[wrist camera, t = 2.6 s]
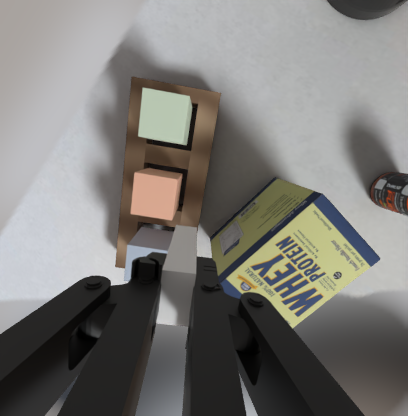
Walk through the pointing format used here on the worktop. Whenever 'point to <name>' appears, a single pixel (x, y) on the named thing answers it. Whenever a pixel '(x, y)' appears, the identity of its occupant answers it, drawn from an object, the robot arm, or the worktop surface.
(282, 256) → the protein box
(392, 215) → the worktop surface
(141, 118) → the sage rectangular block
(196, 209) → the walnut board
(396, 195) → the supplement bottle
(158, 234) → the slate upright cuboid
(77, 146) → the worktop surface
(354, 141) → the worktop surface
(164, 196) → the peach rectangular prism
